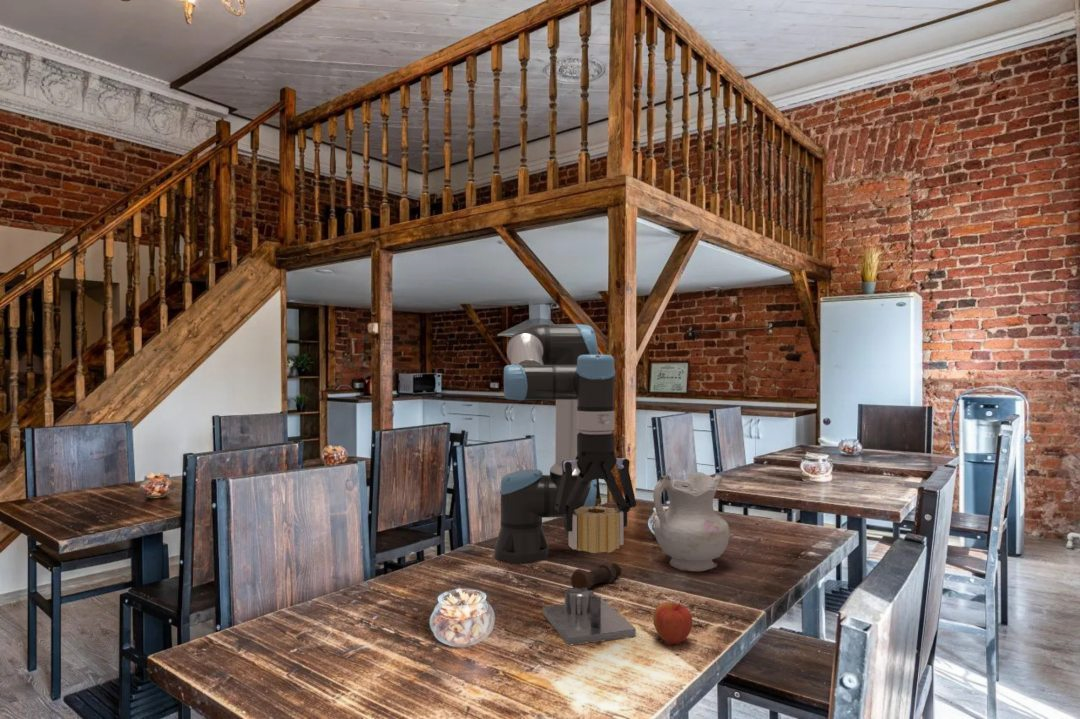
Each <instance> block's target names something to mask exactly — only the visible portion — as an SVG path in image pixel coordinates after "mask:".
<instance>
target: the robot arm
mask: <svg viewBox="0 0 1080 719" xmlns="http://www.w3.org/2000/svg"><path fill="white" fill-rule="evenodd" d="M598 347H599V346H598V341H597V337H596V333H595V330H594V328H593V327H592V326H590V325H588V324H577V323H571V324H570V323H569V324H568V323H564V324H562V323H561V324H556V323H555V324H554V323H553V324H544V323H541V324H533V325H530V326H526V327H524V328H522V329H521V330H518V331H517V332H516V333H514V334H513V335H512V336H511V337H510V338H509V341H508V343H507V346H506V354H507V355H506V356H507V358H508V360H509V362H510V364H507V365H505V366H504V367H503V396H504V399H506V400H512V401H513V400H515V401H519V402H520V401H539V400H541V401H546V400H554V401H555V457H554V458H555V460H554V464H553V465H552V466H551V467H550V468H549V475H546V474H545V475H543V471H542V470H541V469H522V470H517V471H514V472H513V471H512V472H509V473H507V474H505V475H504V476H503V477H502V478H501V480H500V481H501V482H500V490H499V493H500V494H499V495H500V528H499V532H498V535H497V538H496V542H495V545H494V551H493V552H494V557H495V558H496V559H497V560H500V561H502V562H507V563H515V564H525V563H526V564H528V563H535V562H540V561H543V560H545V559H546V558H548V556H549V544H548V542H547V540H546V536H545V533H544V530H543V518H563V520H564V521H563V522H564V523H563V524H564V525H563V529H564V530H565V531H566V532H567V533H568V546H569V547H570V548H571V549H572V550H576V549H577V515H575V514H574V510H575V509H578V508H580V507H584V506H585V507H592V506H593V507H594V506H595V501H596V493H597V488H596V487H597V480H596V479H599V480H603V481H605V483H606V484H605V485H606V487H607V488H608V490H609V492H610V494H611V496H612V498H613V500H614V502H615V504H616V506H617V508H615V509H616V511H620V546H623V545H624V527H625V528H626V527H627V526H628V513H629V512H630V511H631V510H630V509H631V508H632V509H633V508H636V506H637V502H636V501H637V500H636V496H635V492H634V487H633V483H632V480H631V479H632V478H631V475H630V459H628V458H625V457H620V458H617V457H616V455H615V451H616V445H615V444H616V436H615V434H614V433H613V432H612V431H614V430H616V429H615V428H616V427H615V426H616V424H615V422H616V421H615V420H616V412H615V391H616V390H615V387H616V386H615V385H616V384H615V381H616V380H615V378H616V369H615V358H614V357H613V356H612V355H611V354H599V348H598ZM615 467H616V468H617V469H618V475H619V480H620V482H621V487H622V488H621V489H622V492H623V494H622V492H621V490H620V488H619V486H618V483H617V481H616V477H615V476H614V474H613V469H614V468H615Z"/></svg>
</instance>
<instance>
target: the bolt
mask: <svg viewBox="0 0 1080 719" xmlns="http://www.w3.org/2000/svg"><path fill="white" fill-rule="evenodd" d="M622 571H623V569H622V567H621V566H620V565H618V564H617V563H613V564H611V563H608V562H607V563H606V562H603V563H600V564H599V566H598V568H596V569H593V570H589V571H587V570H584V569H580V568H577V569H575V570H574V572H572V574H571V577H570V583H571V586H572V588H577V589H582V588H587V590H589V591H591V588H592V587H593V586H594V585H598V584H601V583H605V582H607V583H606V584H610V582H611V583H613V582H614V581H615V579H616V578H617V577H620V576H621V575H622ZM612 581H613V582H612Z"/></svg>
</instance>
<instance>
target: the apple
mask: <svg viewBox="0 0 1080 719" xmlns="http://www.w3.org/2000/svg"><path fill="white" fill-rule="evenodd" d="M681 603H682V600H681V599H680V600H679V603H676V602H664V603H660V604H659V605H657V606H656V607H655V609H654V612H653V617H652V618H653V625H654V628H655V632H656V633H657V634H658V636H659V637H660V638H661V639H662V640H664V641H665V642H667V643H668V644H670V645H672V644H675V645H677V644H678V645H679V644H680V643H682V642H683V641H685V640H686V639H687V638H688V637H689V635H690V633H691V630H692V627H693V616H692V613H691V612H690V611H691V610H689V609H688V608H687V607H685V606H684V605H682V604H681Z"/></svg>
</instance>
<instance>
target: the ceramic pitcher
mask: <svg viewBox="0 0 1080 719" xmlns="http://www.w3.org/2000/svg"><path fill="white" fill-rule="evenodd" d="M723 477H724V476H723V475H720V474H717V473H716V474H715V476H714V477H712V476H711V475H709V474H706V473H704V472H701V471H698V472H694V473H691V474H690V475H689V476H688V477H687V478H686V479H685V480H681V479H680V480H679V479H676V478H673V479H672V480H671V475H668V474H666V475H665V474H663V475H661V476H660V477H659V480H658V482H657V483H656V484H655V485H654V489H653V495H652V496H653V503H654V504H653V506H654V509H655V512H656V515H657V519H656V520H655V522H654V527H653V528H654V529H653V530H654V536H655V539H656V542H657V543H658V545H659V547H660V548H661V549H662V551H663V552H664V553H665V555H667V556H669V557H671V559H670V561H669V566H671V567H673V568H676V569H677V570H680V571H688V572H698V573H700V572H704V571H707V570H712V569H714V568H717V566H718V563H717V562H715V561H714V562H713V560H714V559H718V558H720V556H721V555H723V554H724V553H725V550H726V549H727V546H728V544H729V541H730V527H729V523H728V522H727V521H726V520H725V519H724V518H723V517H722V516H720V514H718V513H717V512H716V511H715V509H714V499H715V495H716V493H717V490H718V487H719V485H720V484H721V483H722V481H723ZM664 490H665V491H666V493H667V495H668V499H669V506H668V508H667V509H666V511H665V510H664V507H663V504H662V500H663V499H662V496H663V491H664Z"/></svg>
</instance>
